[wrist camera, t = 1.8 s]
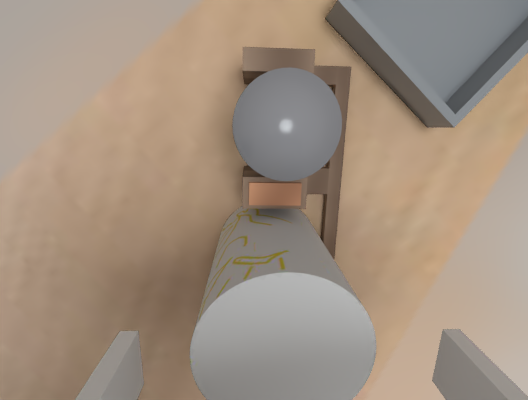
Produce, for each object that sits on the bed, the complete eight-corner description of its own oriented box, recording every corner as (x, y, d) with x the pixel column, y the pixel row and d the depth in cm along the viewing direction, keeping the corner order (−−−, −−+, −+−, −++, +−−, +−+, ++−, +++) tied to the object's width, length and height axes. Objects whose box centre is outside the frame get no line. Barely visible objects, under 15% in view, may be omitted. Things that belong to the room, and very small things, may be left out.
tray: (427, 127, 22) (454, 127, 19) (325, 18, 20) (337, 0, 17) (544, 5, 20) (593, -15, 18) (446, -129, 18) (483, -177, 15)
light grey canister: (262, 178, 23) (275, 233, 11) (335, 239, 24) (413, 344, 13) (199, 251, 24) (151, 370, 12) (272, 305, 25) (291, 454, 14)
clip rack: (243, 380, 27) (242, 439, 22) (244, 65, 20) (242, 45, 15) (320, 378, 28) (337, 435, 23) (347, 69, 21) (379, 50, 16)
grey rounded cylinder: (240, 156, 22) (232, 180, 12) (240, 93, 21) (232, 65, 11) (299, 157, 22) (337, 181, 13) (302, 95, 21) (346, 69, 12)
